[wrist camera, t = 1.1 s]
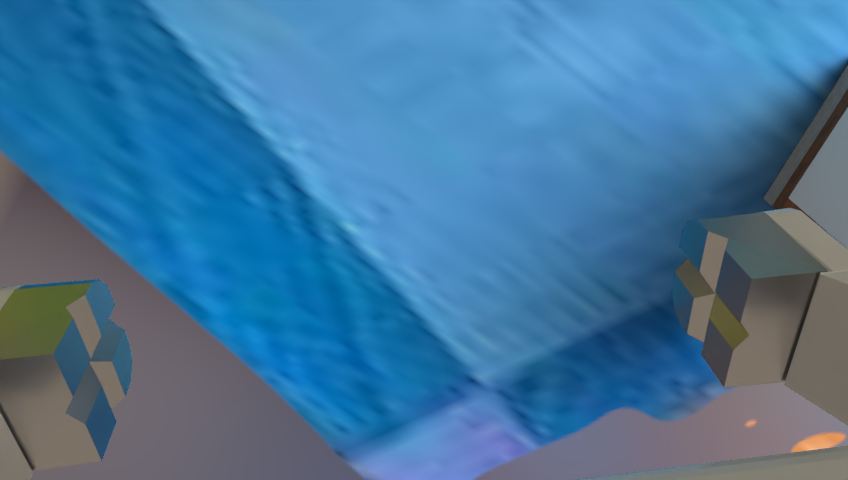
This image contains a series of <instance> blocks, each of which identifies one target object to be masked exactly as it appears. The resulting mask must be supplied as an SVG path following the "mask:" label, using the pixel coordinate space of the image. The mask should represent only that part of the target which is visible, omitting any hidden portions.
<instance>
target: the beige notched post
mask: <svg viewBox="0 0 848 480" xmlns="http://www.w3.org/2000/svg"><path fill="white" fill-rule="evenodd" d="M763 199H764V200H765V201H767V202H768V203H769V204H770V205H771V206H772V207H773V208H774V209H775V210H778V209H785V208H793V209H796V210H800V211H802V212H803V213H804V214H805V215H806V216H808V217H809V218H810V219H811V220H812V221H814V222H817V223H818V224H819V225H820V226H821V227H822V228H823V229H825V230H826V231H827V232H828V233H829V234H830V235H832V236H833V237H834V238H835V239H836V240H837V241H839V242H840V243H841V244H842V245H843V246H844V247H846V248H847V249H848V65H847V67H846V68H845V70H844V71H843V73H842V74H841V76H840V78H839V79H838V81H837V82H836V84H835V85H834V87H833V89H832V90H831V92H830V93H829V95H828V97H827V98H826V100H825V101H824V103H823V104H822V106H821V108H820V109H819V111H818V112H817V114H816V115H815V117H814V119H813V120H812V122H811V123H810V125H809V127H808V128H807V130H806V131H805V133H804V134H803V136H802V138H801V139H800V141H799V142H798V144H797V145H796V147H795V149H794V150H793V152H792V153H791V155H790V156H789V158H788V160H787V161H786V163H785V164H784V166H783V168H782V169H781V171H780V172H779V174H778V175H777V177H776V179H775V180H774V182H773V183H772V185H771V186H770V188H769V190H768V191H767V193H766V194H765V196H764V198H763Z"/></svg>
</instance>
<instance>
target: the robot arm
mask: <svg viewBox="0 0 848 480" xmlns="http://www.w3.org/2000/svg"><path fill="white" fill-rule="evenodd" d="M679 247H680V248H681V250H682V251H683V252H684V254H685V255H686V257H687V259H686V260H685V261H684V262H683V264H682V265H681V266H680V267H679V268H678V269H677V270H676V271H675V274H674V281H673V288H672V295H673V303H674V310H675V312H676V315H677V317H678V320H679V322H680V324H681V325H682V327H683V328H684V330H685V332H686V333H687V334H688V335H690V336H692V337H694V338H696V339H698V340H700V341H702V342H704V344H703V349H702V353H701V355H702V357H703V358H704V359H705V361H706V362H707V364H708V365H709V367H710V368H711V369H712V371H713V372H714V374H715V375H716V377H717V378H718V379H719V381H720V382H721V384H722V385H723V387H735V386H746V385H756V384H767V383H779V382H785V383H784V385H785V386H787V387H788V388H790V389H791V390H793V391H795V392H796V393H798V394H799V395H801V396H802V397H804V398H806V399H807V400H809V401H810V402H812V403H813V404H815V405H816V406H818V407H820V408H821V409H823V410H825V411H826V412H827V413H829V414H831V415H832V416H834V417H835V418H837V419H839V420H840V421H841V422H843V423H845V424H846V425H848V250H847V249H846V248H845V247H844V246H843V245H841V244H840V243H839V242H838V241H837V240H835V239H834V238H833V237H832V236H830V235H829V234H828V233H827V232H826V231H824V230H823V229H822V228H821V227H820V226H818V225H817V224H816V223H815V222H814V221H812V220H811V219H810V218H809V217H808V216H806V215H805V214H804V213H803V212H802V211H800V210H796V209H793V208H785V209H778V210H771V211H763V212H756V213H751V214H743V215H735V216H727V217H719V218H711V219H703V220H695V221H688V222H687V224H686V226H685V228H684V229H683V231H682V236H681V241H680V246H679ZM114 306H115V303H114V301H113V298H112V296H111V294H110V291H109V289H108V286H107V285H106V284H105V283H103V282H102V281H100V280H99V279H98V280H85V281H74V282H62V283H48V284H36V285H25V286H11V287H2V288H0V480H28V479H29V478H30V477H31V476H32V475H33V471H37V470H44V469H51V468H57V467H64V466H70V465H78V464H84V463H92V462H99V461H102V459H103V456H104V453H105V451H106V448H107V445H108V442H109V440H110V437H111V434H112V432H113V429H114V427H115V424H116V420H115V417H114V415H113V412H112V410H111V409H112V408H113V407H114V406H115V405H116V404H118V403H119V402H120V401H121V400H122V399H124V398H125V397H126V394H127V391H128V388H129V385H130V382H131V371H132V356H131V350H130V345H129V341H128V339H127V336H126V333H125V330H123V329H122V328H121V327H119V326H118V325H116V324H115V323H114V322H112V321H110V320H109V317H110V315H111V313H112V311H113V308H114ZM577 480H848V446H842V447H833V448H826V449H818V450H810V451H802V452H794V453H786V454H778V455H770V456H762V457H754V458H746V459H738V460H729V461H722V462H714V463H705V464H697V465H689V466H682V467H673V468H665V469H657V470H650V471H641V472H633V473H625V474H617V475H609V476H601V477H593V478H586V479H577Z"/></svg>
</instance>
